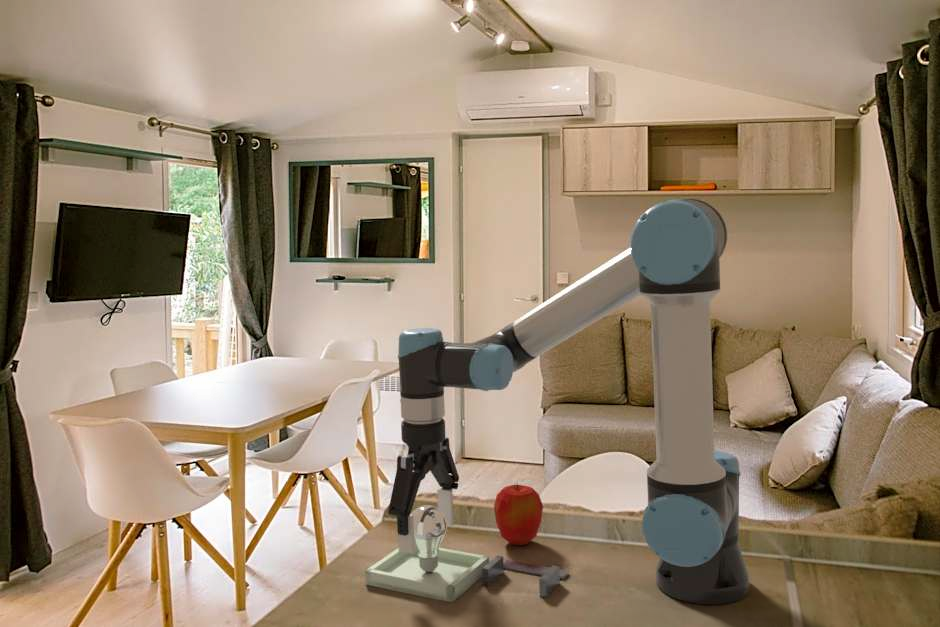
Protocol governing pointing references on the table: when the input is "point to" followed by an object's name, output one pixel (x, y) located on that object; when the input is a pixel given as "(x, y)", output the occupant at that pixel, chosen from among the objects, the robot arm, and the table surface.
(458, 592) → the parts tray
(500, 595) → the table surface
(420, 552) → the light bulb
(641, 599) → the table surface
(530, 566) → the clip holder
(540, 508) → the apple
